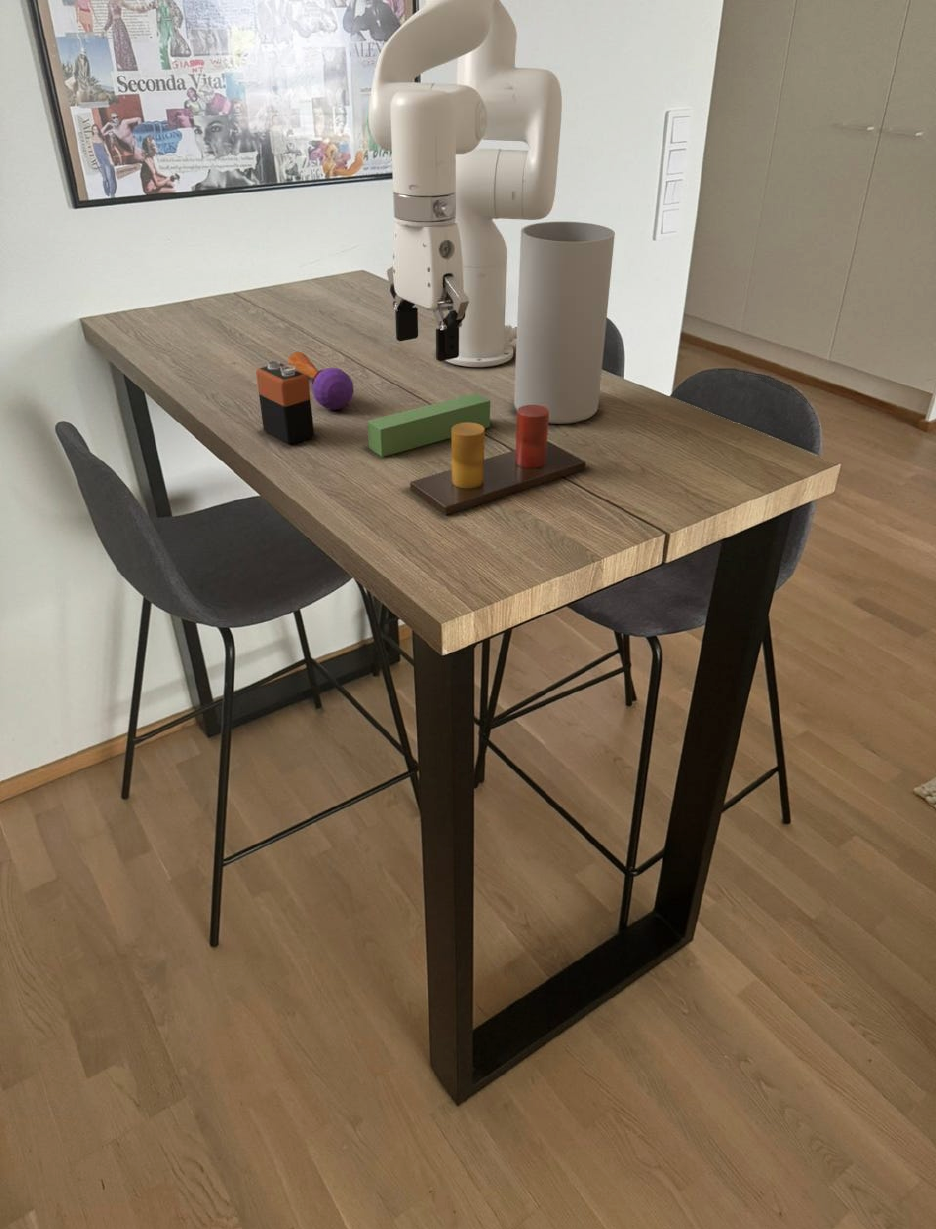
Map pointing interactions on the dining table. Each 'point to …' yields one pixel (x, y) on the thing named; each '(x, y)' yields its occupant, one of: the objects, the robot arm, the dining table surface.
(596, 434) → the dining table surface
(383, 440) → the green bar
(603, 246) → the cylinder vase
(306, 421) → the battery
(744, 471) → the dining table surface
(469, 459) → the rod stand
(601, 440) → the dining table surface
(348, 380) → the kendama
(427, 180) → the robot arm
